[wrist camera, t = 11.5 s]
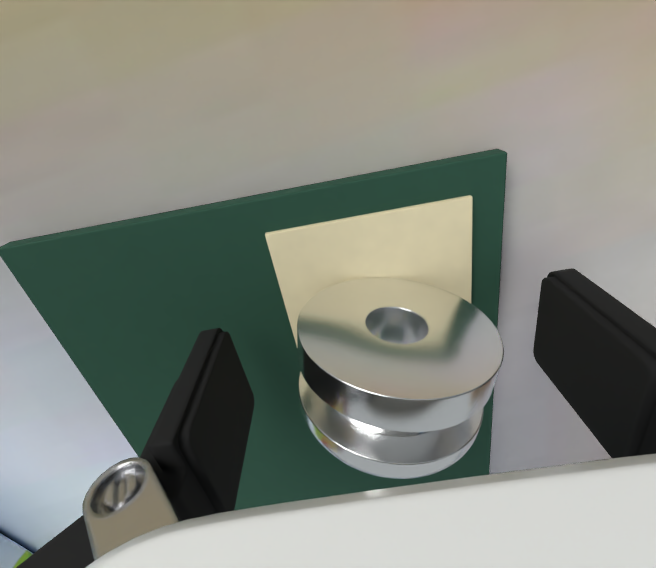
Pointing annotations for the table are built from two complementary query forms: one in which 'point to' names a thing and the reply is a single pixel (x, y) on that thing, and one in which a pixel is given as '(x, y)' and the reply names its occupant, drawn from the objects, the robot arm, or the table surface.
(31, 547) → the table surface
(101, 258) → the desk mat
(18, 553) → the snack box
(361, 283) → the grooved metal pulley
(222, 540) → the robot arm
